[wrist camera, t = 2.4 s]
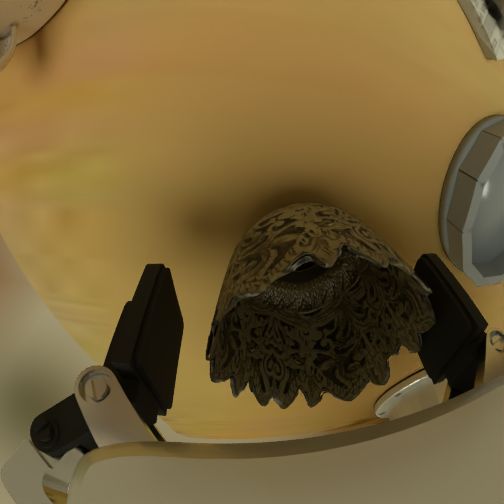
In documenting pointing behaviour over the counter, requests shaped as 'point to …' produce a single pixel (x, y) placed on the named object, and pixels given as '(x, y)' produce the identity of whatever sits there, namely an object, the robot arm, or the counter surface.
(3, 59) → the teacup with lid
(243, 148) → the counter surface
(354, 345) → the dark rounded textured piece
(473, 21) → the packaged product
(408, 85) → the counter surface
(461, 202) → the blue-grey plate
